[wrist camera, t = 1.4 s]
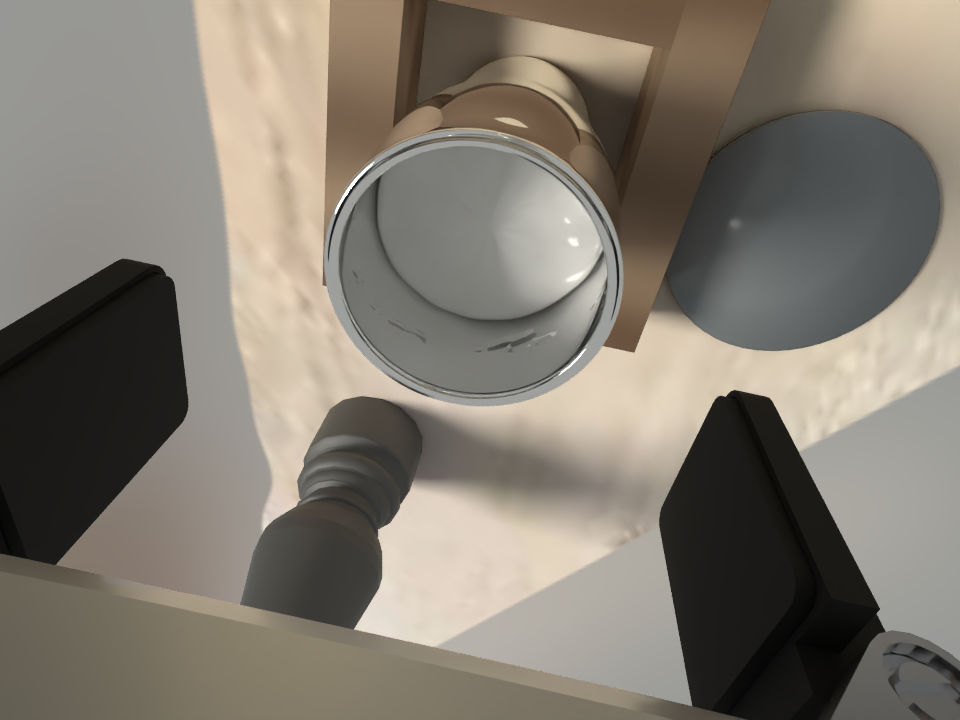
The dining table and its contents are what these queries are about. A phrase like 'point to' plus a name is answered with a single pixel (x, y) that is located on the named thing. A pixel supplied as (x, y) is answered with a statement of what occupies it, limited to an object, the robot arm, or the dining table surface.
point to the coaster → (804, 230)
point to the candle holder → (337, 516)
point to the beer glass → (482, 240)
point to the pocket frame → (652, 132)
